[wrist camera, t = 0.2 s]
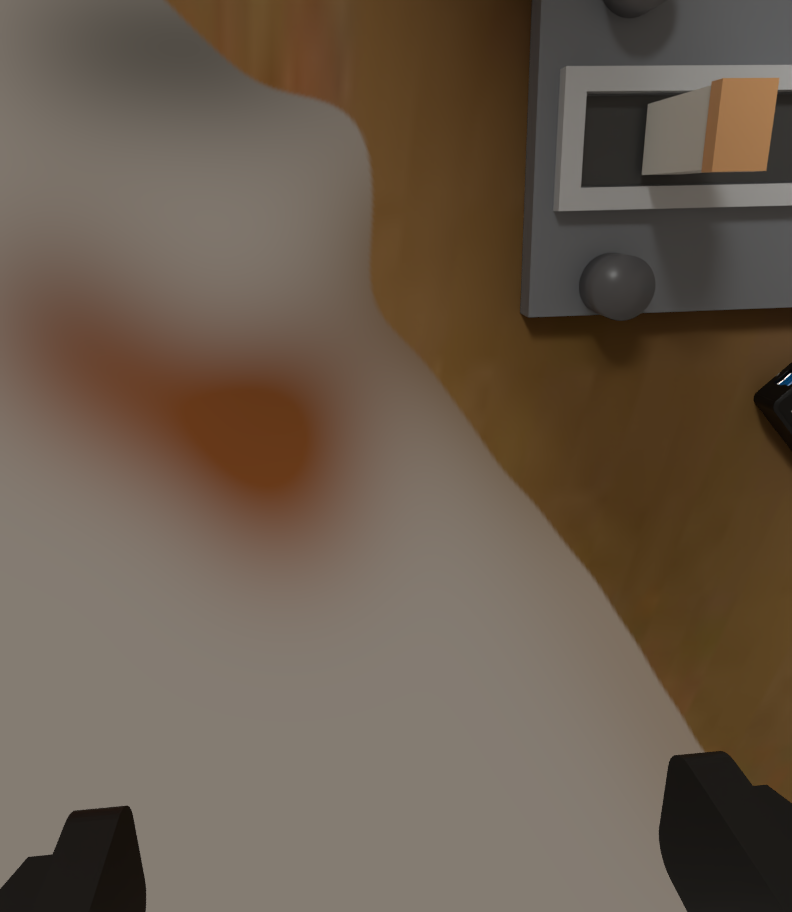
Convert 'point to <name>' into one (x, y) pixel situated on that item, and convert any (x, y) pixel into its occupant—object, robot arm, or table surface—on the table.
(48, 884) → the robot arm
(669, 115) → the fader tab
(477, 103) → the table surface
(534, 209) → the console board
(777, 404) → the multiport hub
